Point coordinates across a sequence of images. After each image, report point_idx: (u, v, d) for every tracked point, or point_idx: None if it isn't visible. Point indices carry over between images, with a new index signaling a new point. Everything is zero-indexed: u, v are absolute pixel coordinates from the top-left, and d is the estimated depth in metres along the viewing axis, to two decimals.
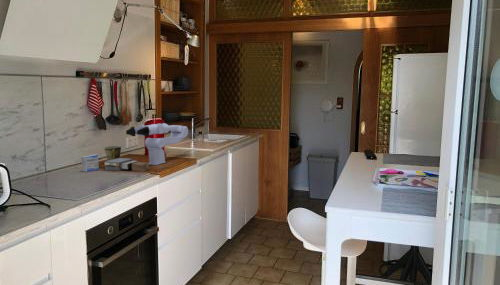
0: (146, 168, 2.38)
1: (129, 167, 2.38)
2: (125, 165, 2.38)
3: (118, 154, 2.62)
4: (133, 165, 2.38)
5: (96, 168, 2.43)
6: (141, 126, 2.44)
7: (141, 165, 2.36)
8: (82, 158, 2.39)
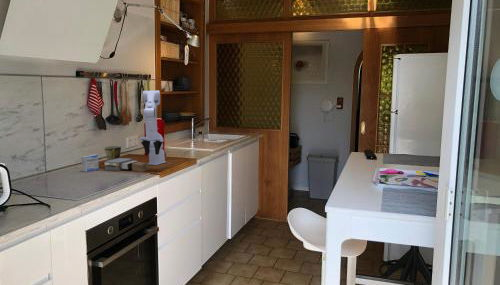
0: (146, 168, 2.38)
1: (129, 167, 2.38)
2: (125, 165, 2.38)
3: (118, 154, 2.62)
4: (133, 165, 2.38)
5: (96, 168, 2.43)
6: (148, 139, 2.31)
7: (141, 165, 2.36)
8: (82, 158, 2.39)
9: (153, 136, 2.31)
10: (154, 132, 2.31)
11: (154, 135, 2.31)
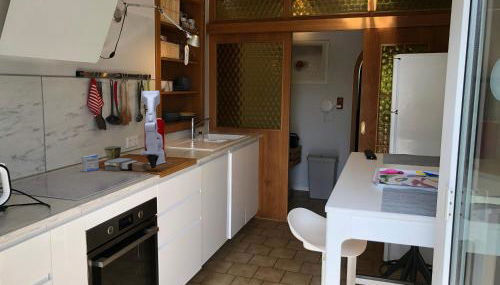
0: (146, 168, 2.38)
1: (129, 167, 2.38)
2: (125, 165, 2.38)
3: (118, 154, 2.62)
4: (133, 165, 2.38)
5: (96, 168, 2.43)
6: (149, 153, 2.32)
7: (140, 165, 2.36)
8: (82, 158, 2.39)
9: (154, 150, 2.32)
10: (155, 146, 2.32)
11: (155, 149, 2.32)
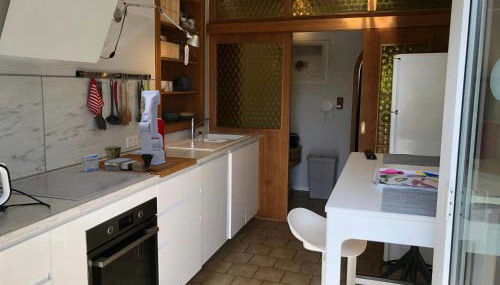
0: (145, 168, 2.38)
1: (129, 167, 2.38)
2: (125, 165, 2.38)
3: (118, 154, 2.62)
4: (133, 165, 2.39)
5: (96, 168, 2.43)
6: None
7: (140, 165, 2.36)
8: (82, 158, 2.39)
9: (148, 150, 2.34)
10: (149, 146, 2.34)
11: (149, 149, 2.34)
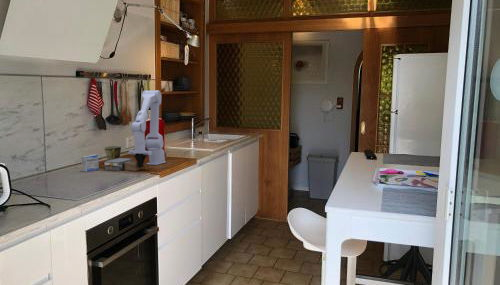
0: (139, 167, 2.40)
1: (124, 167, 2.40)
2: (120, 165, 2.40)
3: (118, 154, 2.62)
4: (126, 164, 2.40)
5: (96, 168, 2.43)
6: (136, 153, 2.36)
7: (134, 164, 2.37)
8: (82, 158, 2.39)
9: (141, 150, 2.36)
10: (142, 146, 2.36)
11: (142, 149, 2.36)
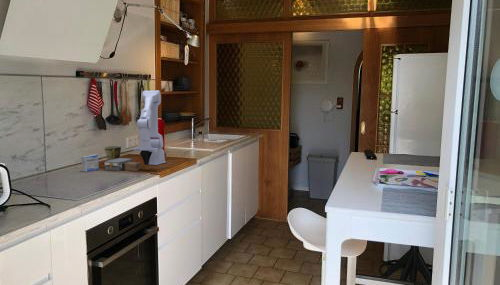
0: (139, 168, 2.40)
1: (123, 167, 2.40)
2: (119, 165, 2.40)
3: (118, 154, 2.62)
4: (126, 165, 2.40)
5: (96, 168, 2.43)
6: (142, 150, 2.34)
7: (134, 165, 2.37)
8: (82, 158, 2.39)
9: (147, 147, 2.34)
10: (148, 143, 2.34)
11: (148, 146, 2.34)
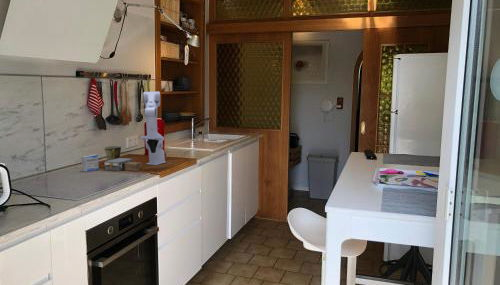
0: (139, 168, 2.40)
1: (123, 167, 2.40)
2: (119, 165, 2.40)
3: (118, 154, 2.62)
4: (126, 165, 2.40)
5: (96, 168, 2.43)
6: (149, 138, 2.36)
7: (134, 165, 2.37)
8: (82, 158, 2.39)
9: (154, 135, 2.36)
10: (155, 131, 2.36)
11: (155, 134, 2.36)
